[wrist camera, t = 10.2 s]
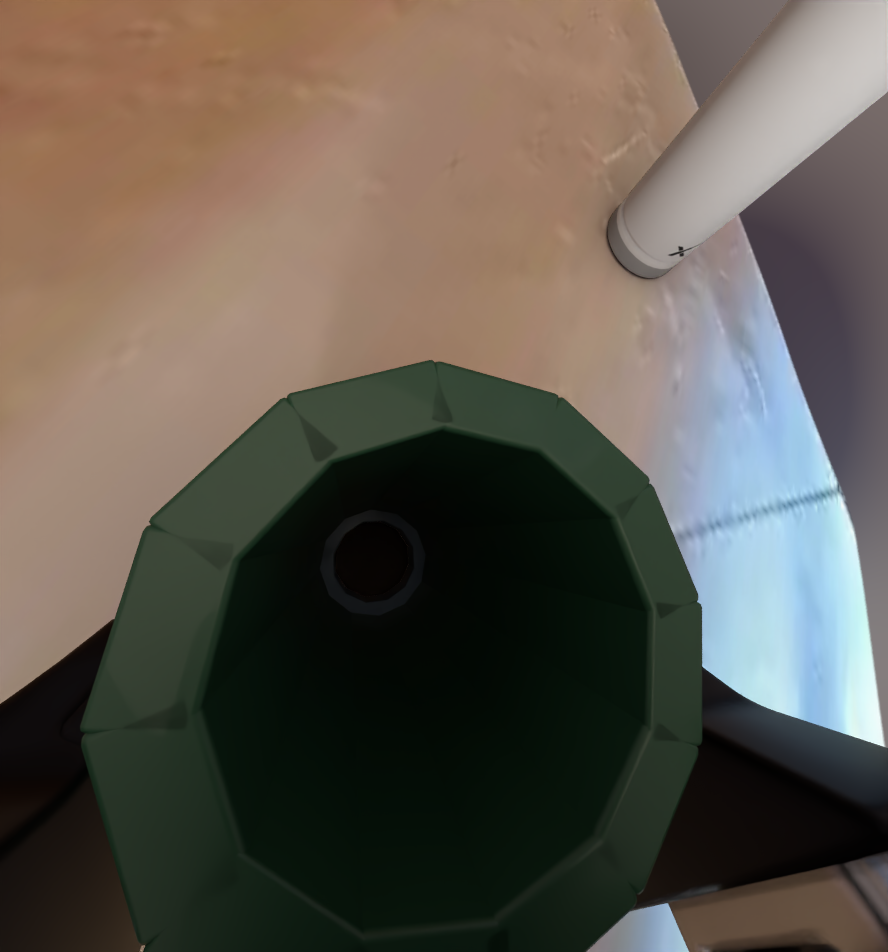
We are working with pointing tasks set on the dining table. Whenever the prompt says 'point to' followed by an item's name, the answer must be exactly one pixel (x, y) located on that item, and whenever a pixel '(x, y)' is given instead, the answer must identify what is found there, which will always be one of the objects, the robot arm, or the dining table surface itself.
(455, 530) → the green pencil cup
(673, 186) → the travel mug
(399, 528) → the ring stack
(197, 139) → the dining table surface
